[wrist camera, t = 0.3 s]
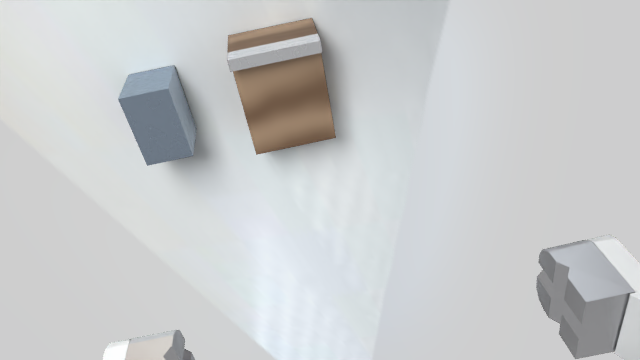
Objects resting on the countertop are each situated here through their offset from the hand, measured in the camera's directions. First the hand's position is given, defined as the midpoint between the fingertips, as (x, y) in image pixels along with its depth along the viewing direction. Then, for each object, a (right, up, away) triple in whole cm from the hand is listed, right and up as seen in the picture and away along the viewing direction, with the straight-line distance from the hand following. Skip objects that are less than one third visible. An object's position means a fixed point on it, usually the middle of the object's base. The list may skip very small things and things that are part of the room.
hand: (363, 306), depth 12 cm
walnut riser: (-5, +14, +46) cm, 49 cm away
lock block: (-18, +11, +46) cm, 51 cm away
